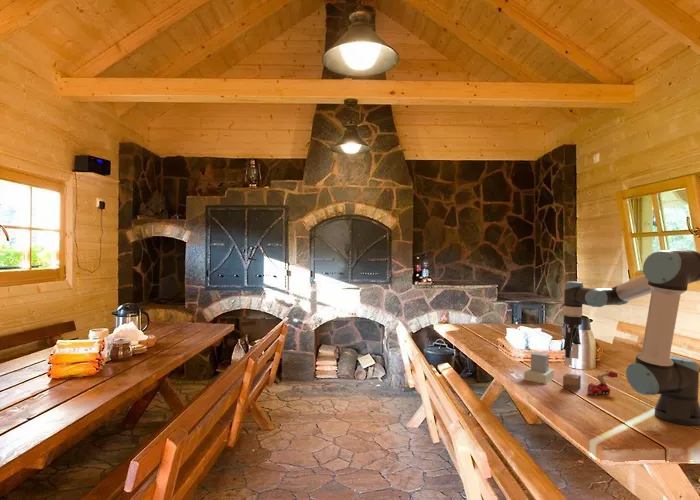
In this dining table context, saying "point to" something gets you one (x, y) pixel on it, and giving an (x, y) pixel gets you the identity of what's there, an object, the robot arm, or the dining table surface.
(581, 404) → the dining table surface
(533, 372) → the plinth
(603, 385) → the toy fire truck
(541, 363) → the block
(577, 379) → the block
